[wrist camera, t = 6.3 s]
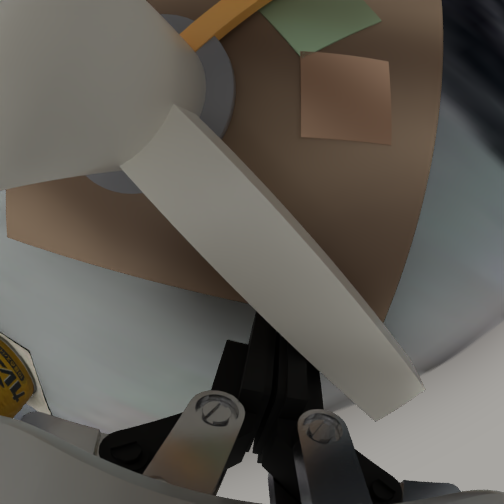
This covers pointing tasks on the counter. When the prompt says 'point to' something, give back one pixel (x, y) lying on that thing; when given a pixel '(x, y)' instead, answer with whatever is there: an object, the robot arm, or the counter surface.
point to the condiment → (18, 380)
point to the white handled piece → (183, 166)
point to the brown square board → (287, 147)
